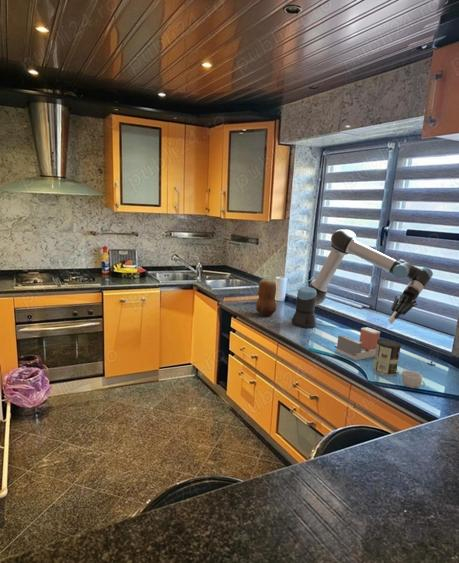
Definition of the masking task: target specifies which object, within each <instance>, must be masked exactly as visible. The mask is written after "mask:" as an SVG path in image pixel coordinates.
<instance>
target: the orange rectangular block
mask: <svg viewBox="0 0 459 563" xmlns="http://www.w3.org/2000/svg"><path fill="white" fill-rule="evenodd" d="M380 334H381V331H380V330H376V329H374V328H371V327H367V326H366V327H361V328H360V335H359V340H358V341H359V342H361V343H362V347H363V348H365V349H368V350H371V349H376V346H377V340H378V339H380Z"/></svg>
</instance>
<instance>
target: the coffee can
mask: <svg viewBox="0 0 459 563" xmlns="http://www.w3.org/2000/svg"><path fill="white" fill-rule="evenodd" d="M401 347H402V344H401V343H400V342H398V341H396V340H392V339H389V338H388V339H387V338H379V339H378V340H377V346H376V353H375V356H374V362H373V366H372V368H373V369H372V370H373V372H375V373H377V374H378V375H382V376H386V377H393V376H394V377H395V376H396V375H397V371H398V367H399V365H398V364H399V358H400V353H401V352H400V351H401Z"/></svg>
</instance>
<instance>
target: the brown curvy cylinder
mask: <svg viewBox="0 0 459 563" xmlns="http://www.w3.org/2000/svg"><path fill="white" fill-rule="evenodd" d="M257 294H258V299H257V301H256V305H255V307H256V312H258V314H260V315H262V316H264V317H270V316H272V315H273V314H275V313H276V311H277V303H276V294H277V284H276V281H275V280H274V279H266V278H263V279H260V280H259V283H258V293H257Z"/></svg>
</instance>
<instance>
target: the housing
mask: <svg viewBox="0 0 459 563" xmlns="http://www.w3.org/2000/svg"><path fill="white" fill-rule="evenodd" d="M359 341H360V340H356V339H354V338H352V337H349V336H346V335H344V334H340V335H338V336H337V344H336V352H337V353H339V352H340V353H339V354H342V355H344V356H347V357H348V356H349V357H348V358H350V357H351V359H353V360H355V361H357V360H358V361H359V360H363V359H369V358H373V357H374V358H375V353H376V349H371V350H368V349H365V348H363V347H362V343H361V342H359Z"/></svg>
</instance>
